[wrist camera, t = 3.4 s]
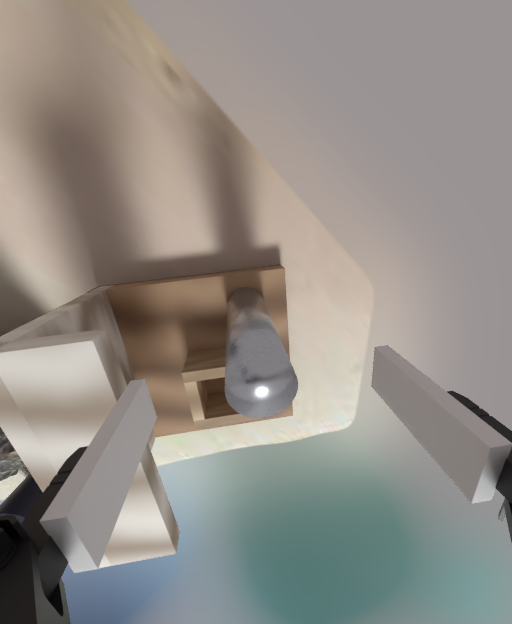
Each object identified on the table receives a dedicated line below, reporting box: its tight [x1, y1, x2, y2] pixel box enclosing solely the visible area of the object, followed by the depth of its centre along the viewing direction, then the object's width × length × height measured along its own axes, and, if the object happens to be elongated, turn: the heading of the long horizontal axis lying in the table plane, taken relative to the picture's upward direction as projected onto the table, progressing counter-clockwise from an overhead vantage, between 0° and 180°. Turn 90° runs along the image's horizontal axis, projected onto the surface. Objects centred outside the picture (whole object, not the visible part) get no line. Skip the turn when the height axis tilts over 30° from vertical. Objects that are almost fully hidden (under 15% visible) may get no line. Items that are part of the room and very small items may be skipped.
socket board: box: [0, 265, 293, 568], centre depth 23 cm, size 20×20×14 cm
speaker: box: [0, 473, 43, 523], centre depth 29 cm, size 8×6×10 cm
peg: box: [225, 287, 298, 418], centre depth 19 cm, size 4×4×14 cm
